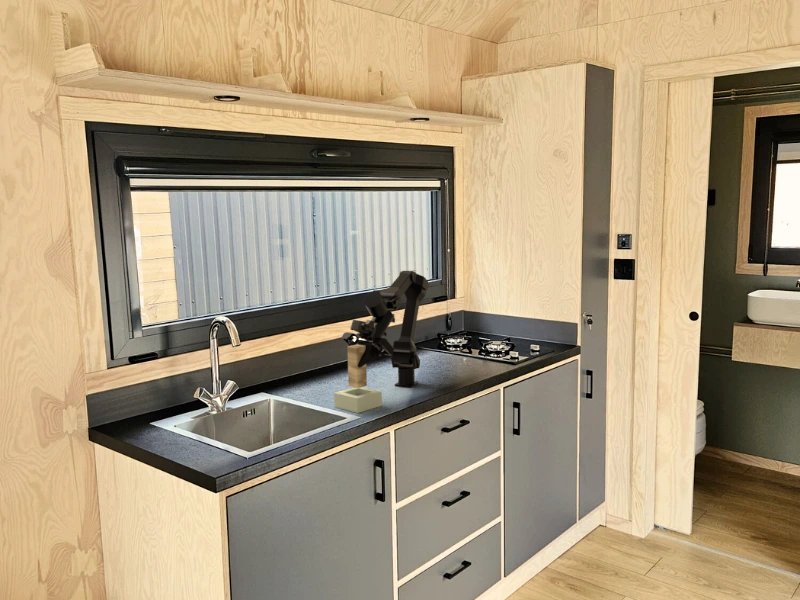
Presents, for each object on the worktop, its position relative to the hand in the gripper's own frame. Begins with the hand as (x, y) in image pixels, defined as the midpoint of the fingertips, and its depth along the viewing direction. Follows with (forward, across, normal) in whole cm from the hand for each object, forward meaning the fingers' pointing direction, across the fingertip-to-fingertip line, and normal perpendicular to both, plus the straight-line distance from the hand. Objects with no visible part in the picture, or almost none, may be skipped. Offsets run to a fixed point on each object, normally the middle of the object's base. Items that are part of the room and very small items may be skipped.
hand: (353, 365), depth 219 cm
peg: (+4, 0, +6) cm, 7 cm away
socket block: (+8, 0, +10) cm, 13 cm away
